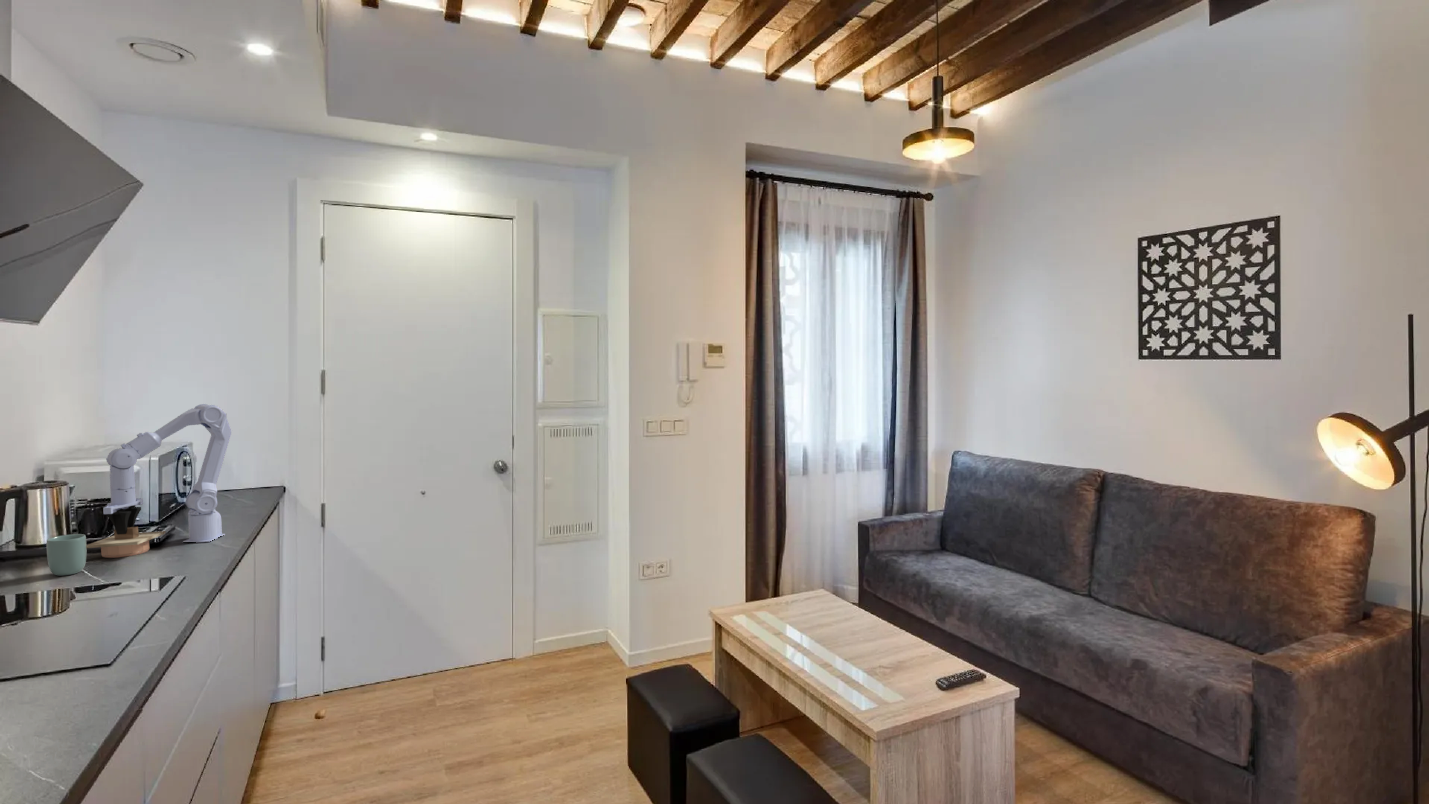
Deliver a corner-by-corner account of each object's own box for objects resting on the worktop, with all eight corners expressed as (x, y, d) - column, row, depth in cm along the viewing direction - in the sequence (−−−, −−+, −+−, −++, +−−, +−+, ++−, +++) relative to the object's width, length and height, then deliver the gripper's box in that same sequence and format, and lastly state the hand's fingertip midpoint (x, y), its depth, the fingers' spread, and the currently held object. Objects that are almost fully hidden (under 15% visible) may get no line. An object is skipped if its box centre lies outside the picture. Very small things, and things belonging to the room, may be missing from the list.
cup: (55, 571, 190) (54, 535, 189) (92, 568, 193) (90, 532, 192) (42, 579, 182) (40, 542, 182) (80, 575, 186) (78, 539, 185)
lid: (116, 536, 214) (115, 524, 214) (165, 533, 216) (164, 521, 216) (85, 548, 201) (84, 535, 200) (137, 544, 203) (136, 531, 203)
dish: (117, 548, 213) (117, 537, 213) (157, 547, 215) (157, 536, 215) (92, 558, 202) (91, 546, 202) (134, 556, 204) (134, 545, 204)
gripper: (124, 484, 214) (126, 527, 215) (90, 493, 200) (92, 539, 200) (149, 483, 215) (151, 526, 216) (118, 492, 201) (120, 538, 202)
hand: (125, 532), depth 208 cm, fingers closed on lid, 2 cm apart
